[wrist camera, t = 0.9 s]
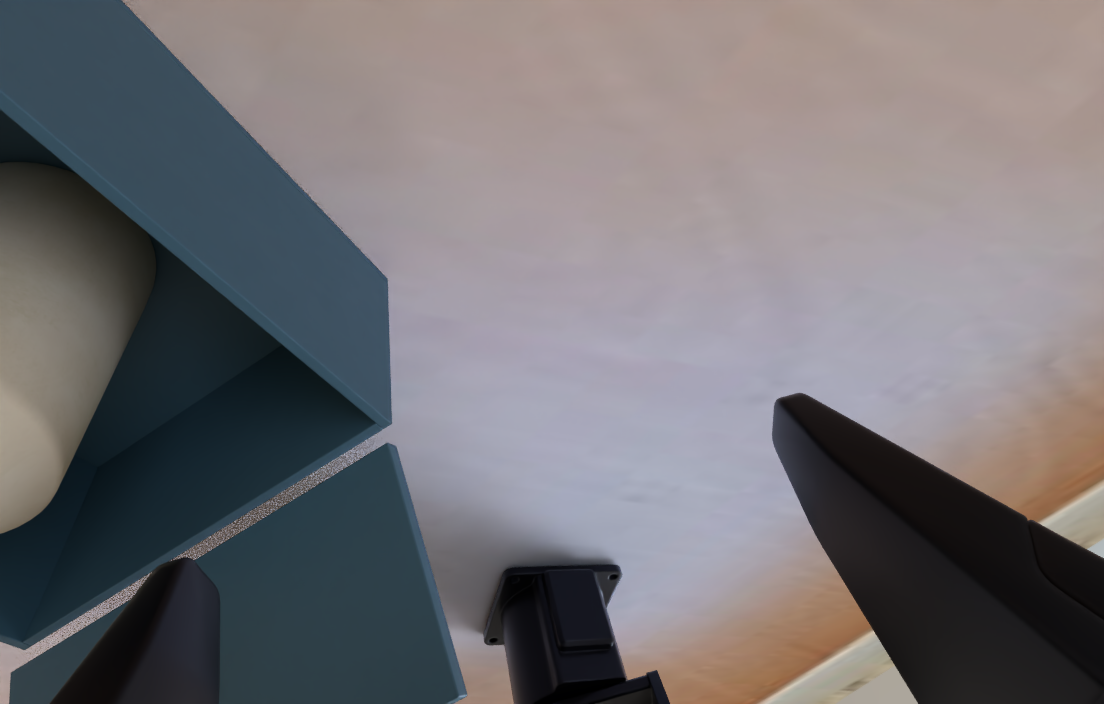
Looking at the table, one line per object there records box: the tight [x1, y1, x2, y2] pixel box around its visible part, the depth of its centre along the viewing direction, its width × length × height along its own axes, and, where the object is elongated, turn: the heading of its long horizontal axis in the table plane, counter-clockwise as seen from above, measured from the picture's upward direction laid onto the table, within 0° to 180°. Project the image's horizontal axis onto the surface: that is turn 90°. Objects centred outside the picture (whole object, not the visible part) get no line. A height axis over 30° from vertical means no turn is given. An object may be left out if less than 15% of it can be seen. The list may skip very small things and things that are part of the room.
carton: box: [0, 0, 392, 650], centre depth 18 cm, size 13×14×7 cm
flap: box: [9, 443, 467, 704], centre depth 17 cm, size 6×14×1 cm
